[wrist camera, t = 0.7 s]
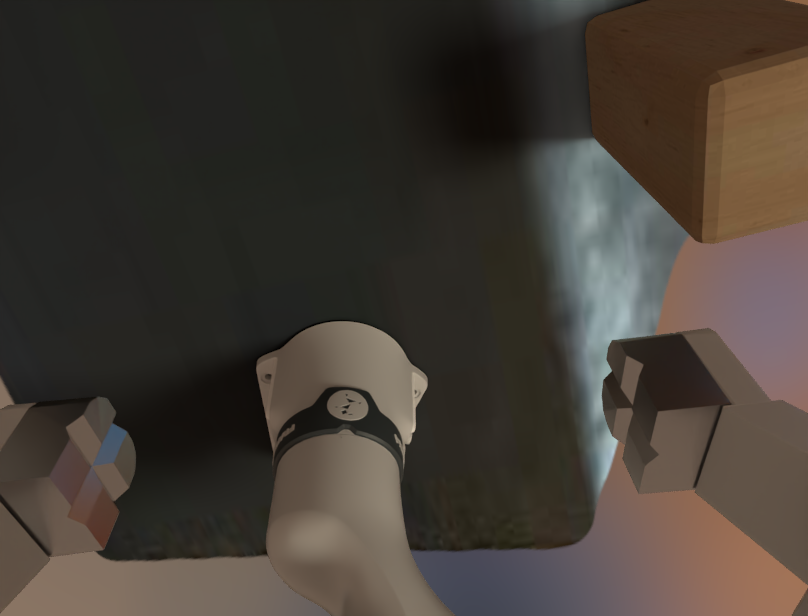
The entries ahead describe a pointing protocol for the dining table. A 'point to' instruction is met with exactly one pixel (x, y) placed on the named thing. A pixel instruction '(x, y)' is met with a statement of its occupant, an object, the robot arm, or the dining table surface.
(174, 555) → the dining table surface
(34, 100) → the dining table surface
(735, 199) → the wooden block
